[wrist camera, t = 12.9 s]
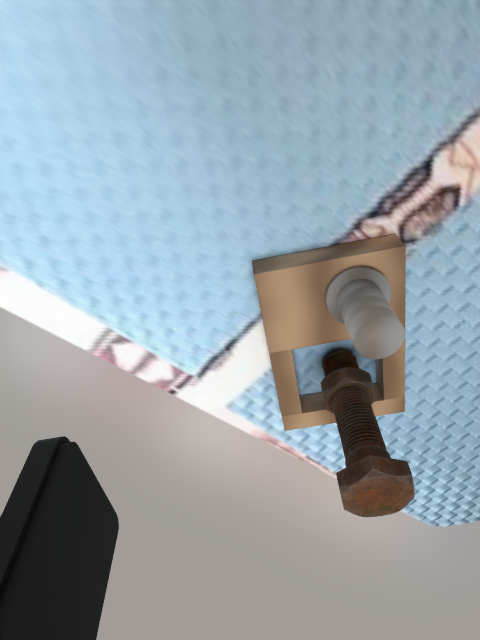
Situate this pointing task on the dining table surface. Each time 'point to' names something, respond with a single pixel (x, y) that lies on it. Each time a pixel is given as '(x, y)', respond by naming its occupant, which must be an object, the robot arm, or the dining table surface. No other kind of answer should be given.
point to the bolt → (363, 442)
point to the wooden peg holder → (335, 318)
